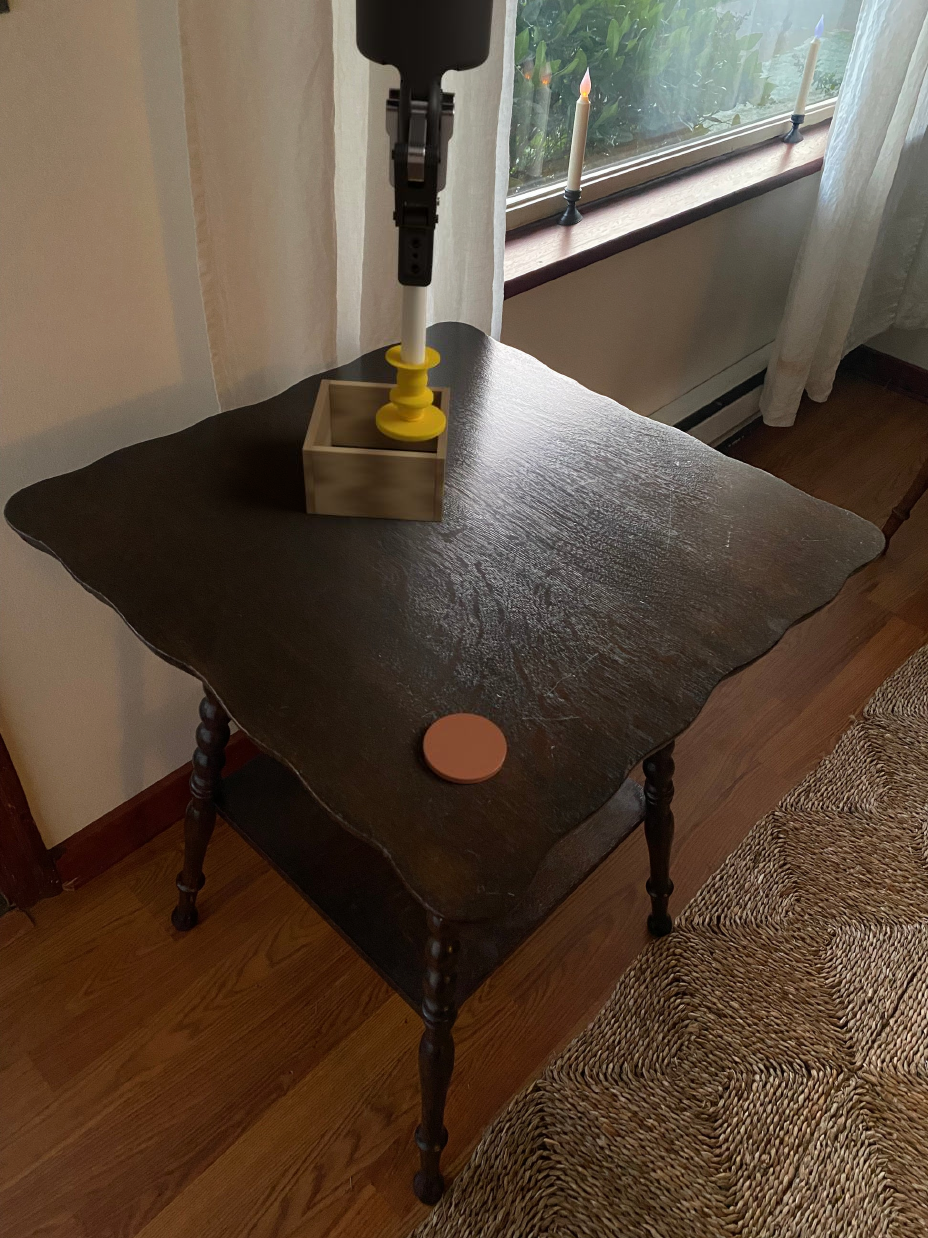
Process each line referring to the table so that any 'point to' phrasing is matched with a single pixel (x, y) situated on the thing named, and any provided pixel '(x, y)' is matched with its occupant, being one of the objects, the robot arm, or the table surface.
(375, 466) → the crate
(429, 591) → the table surface
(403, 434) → the candle
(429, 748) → the coaster
